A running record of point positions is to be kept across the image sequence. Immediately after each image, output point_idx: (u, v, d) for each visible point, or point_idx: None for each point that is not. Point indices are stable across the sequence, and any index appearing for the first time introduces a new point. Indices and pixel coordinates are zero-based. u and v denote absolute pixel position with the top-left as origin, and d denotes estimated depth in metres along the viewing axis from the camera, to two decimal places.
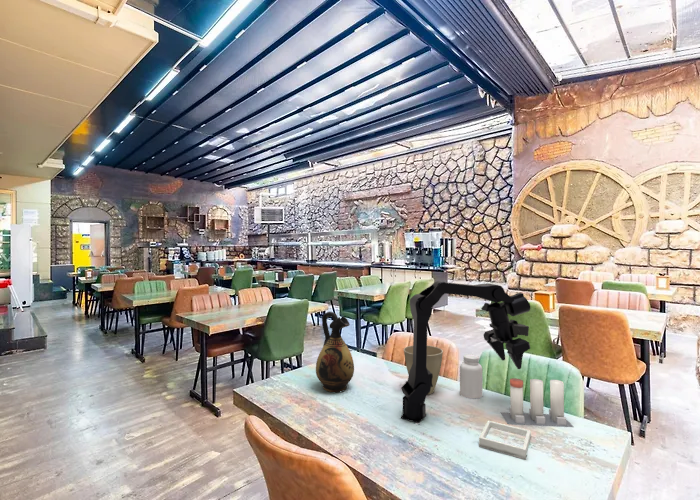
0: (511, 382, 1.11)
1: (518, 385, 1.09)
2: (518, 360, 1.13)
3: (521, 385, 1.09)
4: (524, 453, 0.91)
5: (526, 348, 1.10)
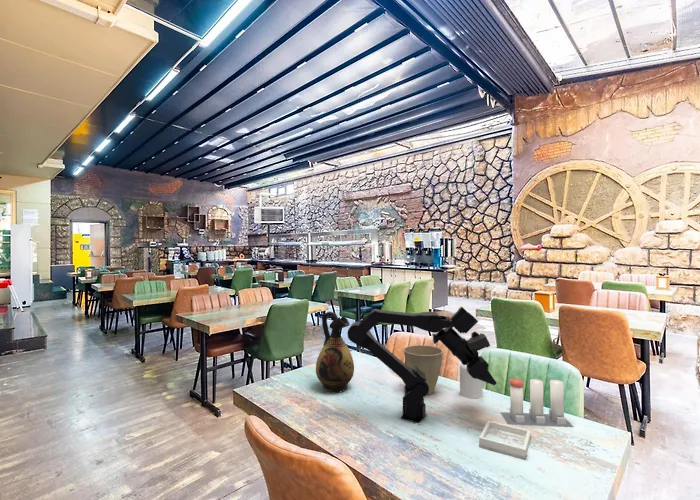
0: (511, 382, 1.11)
1: (518, 385, 1.09)
2: (488, 378, 1.06)
3: (521, 385, 1.09)
4: (524, 453, 0.91)
5: (483, 367, 1.03)
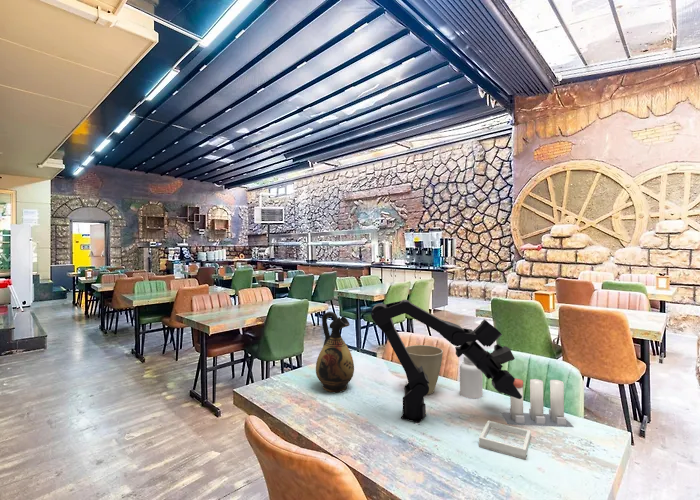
0: None
1: (518, 385, 1.09)
2: (513, 392, 1.06)
3: (521, 385, 1.09)
4: (524, 453, 0.91)
5: (510, 381, 1.02)
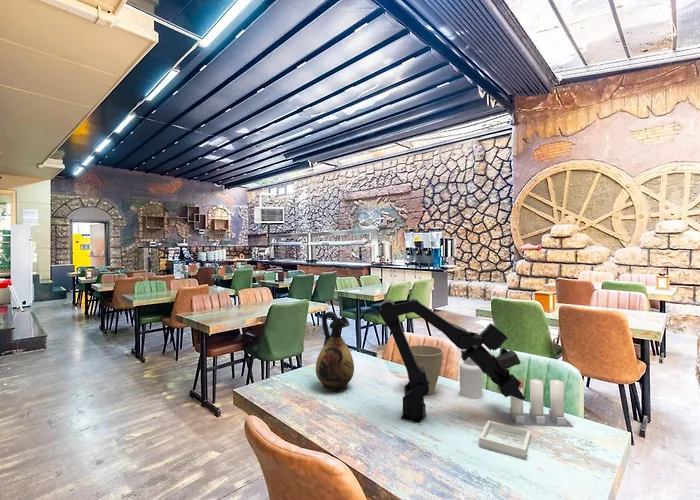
0: None
1: None
2: (516, 393, 1.08)
3: (521, 385, 1.09)
4: (524, 453, 0.91)
5: (516, 386, 1.02)
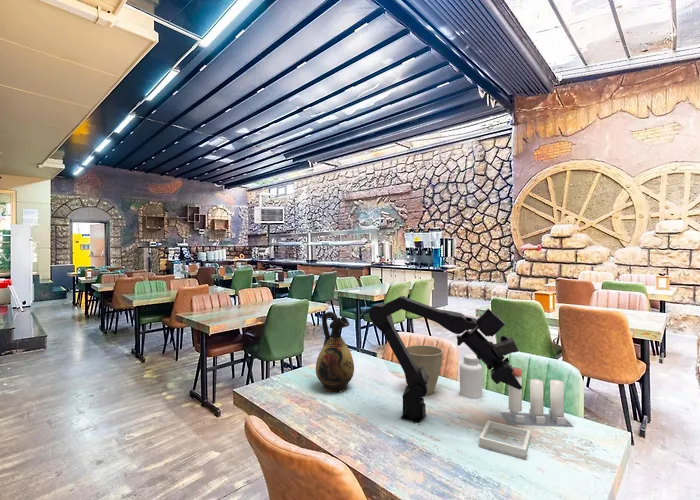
0: None
1: (516, 373, 1.04)
2: (512, 381, 1.03)
3: (519, 374, 1.04)
4: (524, 453, 0.91)
5: (507, 373, 0.98)
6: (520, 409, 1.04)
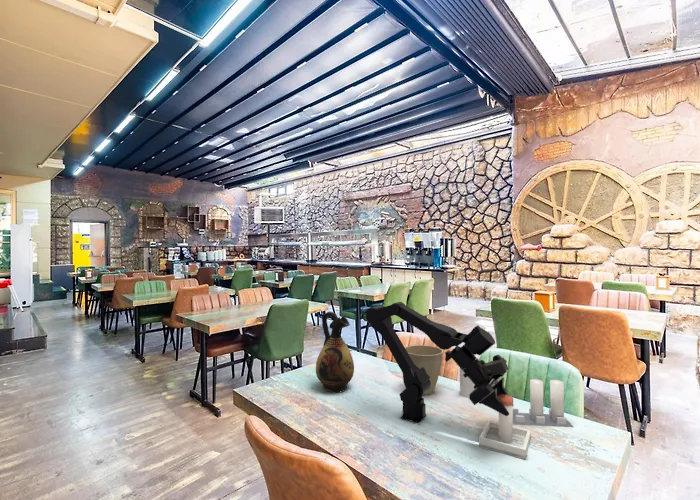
0: None
1: (504, 402, 0.97)
2: (497, 406, 0.96)
3: (508, 403, 0.97)
4: (524, 453, 0.91)
5: (484, 395, 0.93)
6: (508, 440, 0.97)
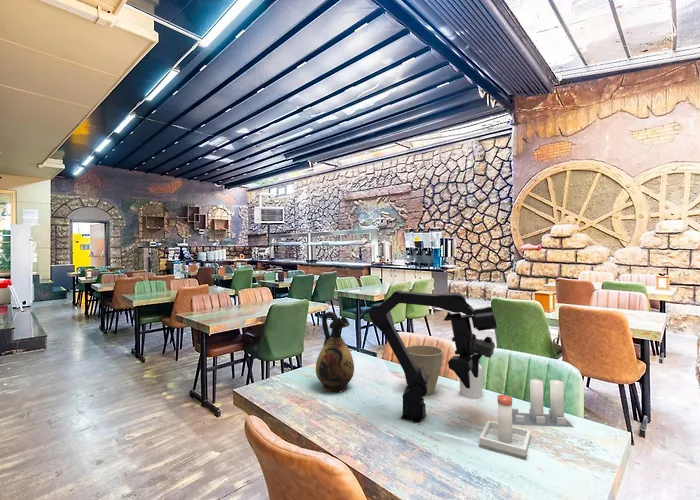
0: (497, 398, 0.99)
1: (503, 402, 0.97)
2: (464, 378, 1.05)
3: (507, 403, 0.97)
4: (524, 453, 0.91)
5: (463, 367, 1.01)
6: (508, 440, 0.97)
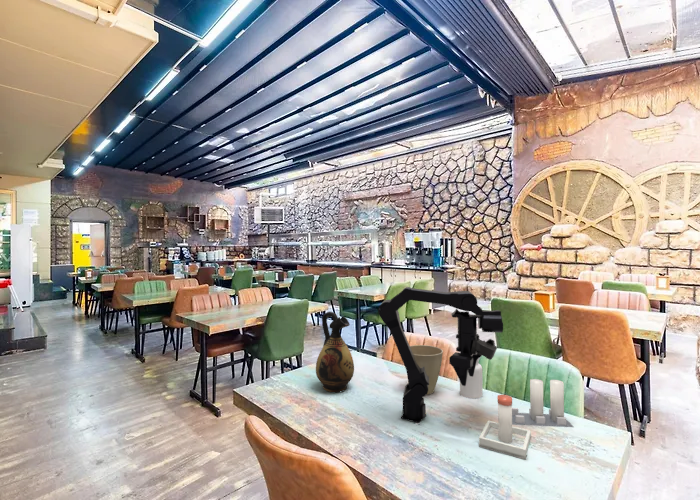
0: (497, 398, 0.99)
1: (503, 402, 0.97)
2: (462, 375, 1.07)
3: (507, 403, 0.97)
4: (524, 453, 0.91)
5: (464, 364, 1.03)
6: (508, 440, 0.97)
